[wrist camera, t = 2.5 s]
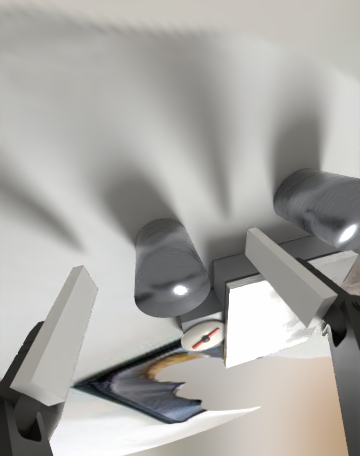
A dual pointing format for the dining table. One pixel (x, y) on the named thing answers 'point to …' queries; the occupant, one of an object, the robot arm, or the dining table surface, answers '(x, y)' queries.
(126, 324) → the dining table surface
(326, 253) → the scale
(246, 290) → the platform
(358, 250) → the stone
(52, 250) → the dining table surface
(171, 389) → the dining table surface
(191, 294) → the cylinder
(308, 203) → the cylinder
